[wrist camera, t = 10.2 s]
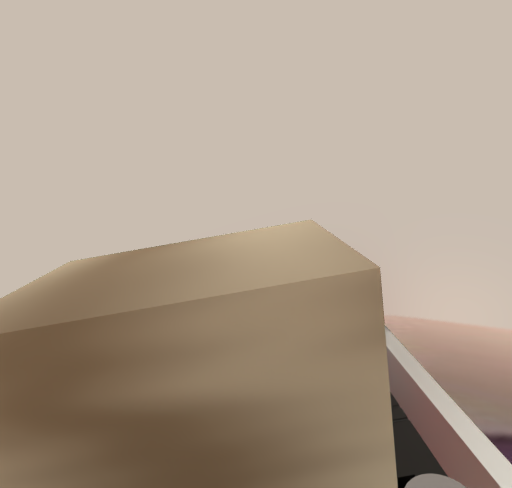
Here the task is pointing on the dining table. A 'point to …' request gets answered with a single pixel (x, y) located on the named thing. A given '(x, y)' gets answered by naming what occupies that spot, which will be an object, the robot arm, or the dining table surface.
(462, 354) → the dining table surface
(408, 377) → the white open frame
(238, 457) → the wooden block
